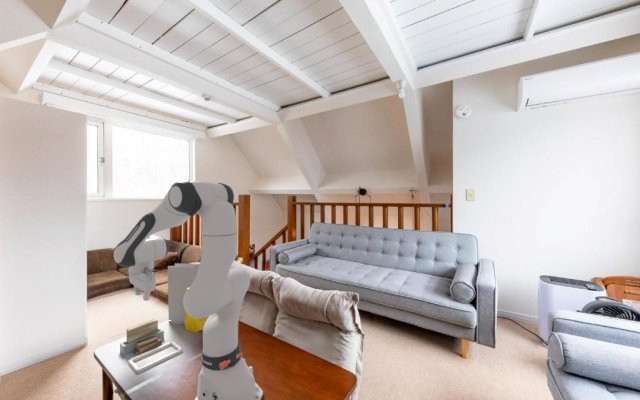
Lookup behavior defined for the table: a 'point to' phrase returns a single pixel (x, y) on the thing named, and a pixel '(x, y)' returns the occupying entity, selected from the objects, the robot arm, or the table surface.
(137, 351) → the offcut
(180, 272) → the grey tall block
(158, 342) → the offcut
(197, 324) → the figure statuette
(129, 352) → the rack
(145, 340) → the offcut
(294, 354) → the table surface
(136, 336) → the maple sheet
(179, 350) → the tray
